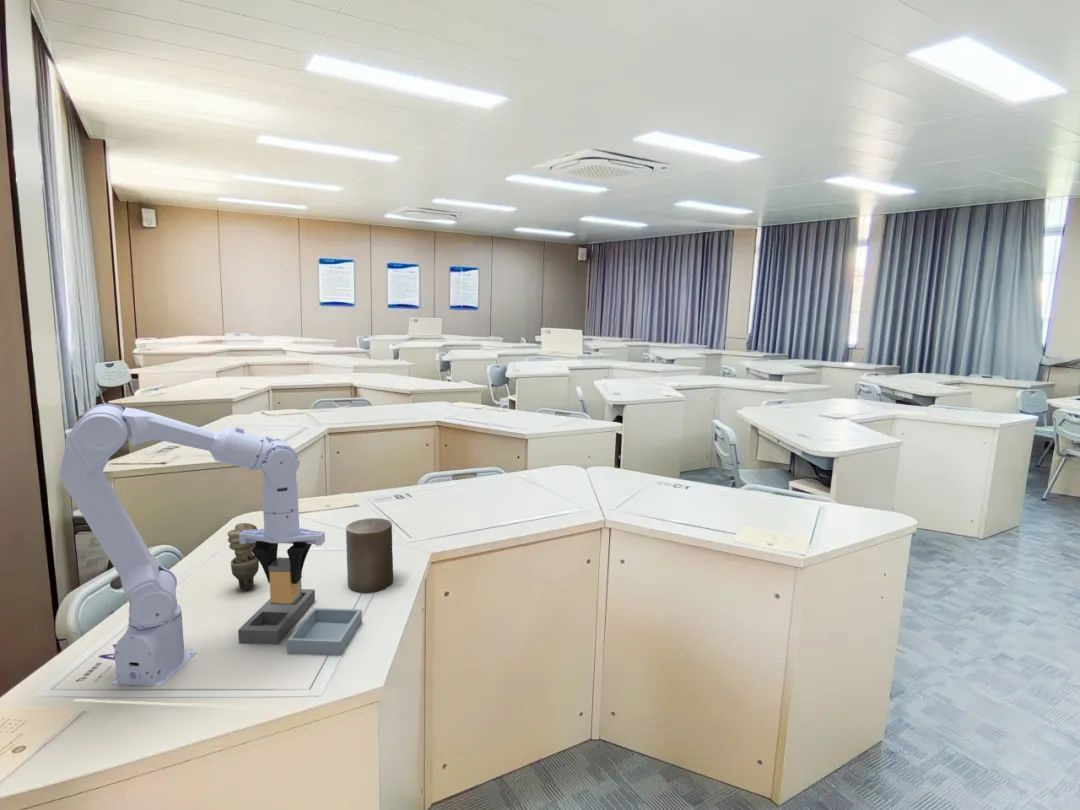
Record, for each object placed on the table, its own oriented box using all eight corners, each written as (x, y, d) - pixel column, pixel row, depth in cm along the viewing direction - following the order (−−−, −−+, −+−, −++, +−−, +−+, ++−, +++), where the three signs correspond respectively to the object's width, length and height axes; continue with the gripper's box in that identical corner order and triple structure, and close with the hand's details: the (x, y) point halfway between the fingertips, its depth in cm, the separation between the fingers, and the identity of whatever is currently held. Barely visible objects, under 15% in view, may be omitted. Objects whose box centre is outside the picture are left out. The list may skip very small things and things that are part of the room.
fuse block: (278, 647, 103) (277, 631, 102) (239, 645, 103) (238, 629, 102) (315, 603, 118) (314, 589, 118) (281, 602, 118) (280, 588, 118)
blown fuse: (291, 603, 103) (289, 566, 102) (269, 603, 104) (268, 566, 102) (300, 593, 107) (298, 558, 106) (279, 593, 107) (278, 557, 106)
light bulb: (247, 599, 119) (244, 529, 117) (224, 596, 120) (220, 526, 118) (265, 587, 125) (262, 520, 123) (243, 584, 126) (240, 517, 124)
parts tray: (340, 658, 100) (340, 641, 99) (287, 656, 100) (286, 639, 99) (362, 624, 111) (361, 609, 110) (314, 622, 111) (313, 607, 111)
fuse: (294, 615, 112) (293, 581, 111) (275, 614, 113) (273, 580, 112) (302, 605, 116) (301, 572, 115) (284, 605, 116) (282, 572, 115)
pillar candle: (401, 586, 127) (400, 520, 125) (359, 599, 120) (358, 530, 118) (379, 572, 134) (378, 509, 132) (339, 584, 127) (337, 518, 125)
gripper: (330, 502, 107) (332, 572, 109) (251, 500, 107) (255, 570, 109) (314, 515, 100) (317, 589, 102) (231, 513, 100) (235, 587, 102)
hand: (284, 581), depth 105 cm, fingers closed on blown fuse, 4 cm apart
